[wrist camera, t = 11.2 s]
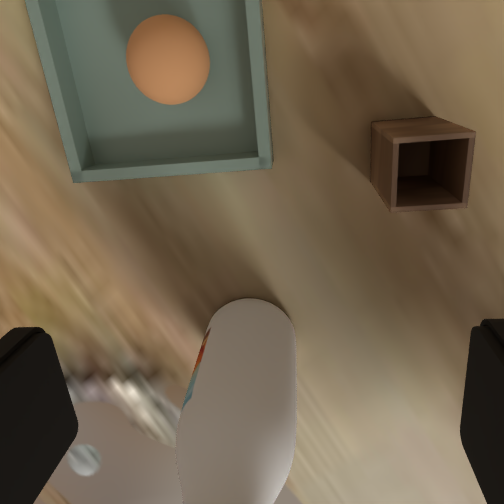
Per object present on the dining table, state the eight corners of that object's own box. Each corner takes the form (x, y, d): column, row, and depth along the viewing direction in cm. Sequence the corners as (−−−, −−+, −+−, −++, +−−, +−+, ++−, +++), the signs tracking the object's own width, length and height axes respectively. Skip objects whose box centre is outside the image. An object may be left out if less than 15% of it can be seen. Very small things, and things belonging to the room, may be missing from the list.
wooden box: (435, 116, 29) (475, 131, 22) (430, 177, 30) (467, 207, 24) (371, 121, 29) (393, 138, 23) (370, 181, 31) (390, 212, 24)
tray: (256, -76, 25) (252, -92, 23) (273, 159, 31) (271, 168, 28) (36, -45, 27) (9, -56, 24) (90, 173, 32) (73, 183, 30)
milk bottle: (230, 280, 35) (163, 513, 17) (312, 318, 36) (332, 580, 18) (194, 347, 38) (106, 604, 20) (271, 381, 39) (252, 658, 21)
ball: (190, 18, 28) (215, 5, 24) (201, 99, 30) (226, 100, 26) (112, 23, 26) (125, 9, 22) (129, 108, 28) (143, 110, 24)
